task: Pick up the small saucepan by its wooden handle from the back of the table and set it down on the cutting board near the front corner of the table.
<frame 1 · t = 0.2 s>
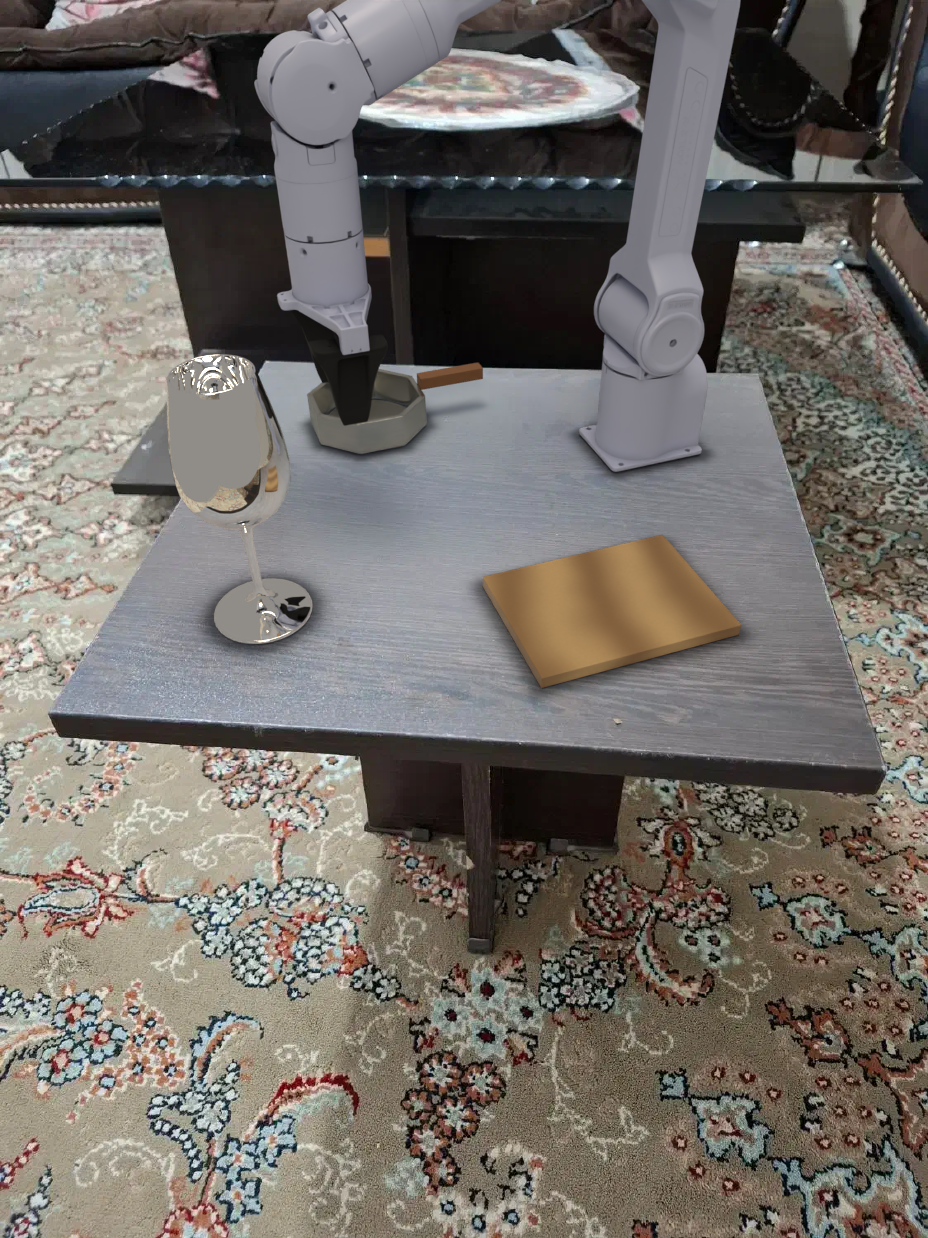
hand: (343, 399, 74), 10 cm above the table, tool pointing down, fingers open, 7 cm apart
cutting board: (606, 609, 69), on the table
wineglass: (264, 613, 70), on the table
saucepan: (368, 425, 91), on the table
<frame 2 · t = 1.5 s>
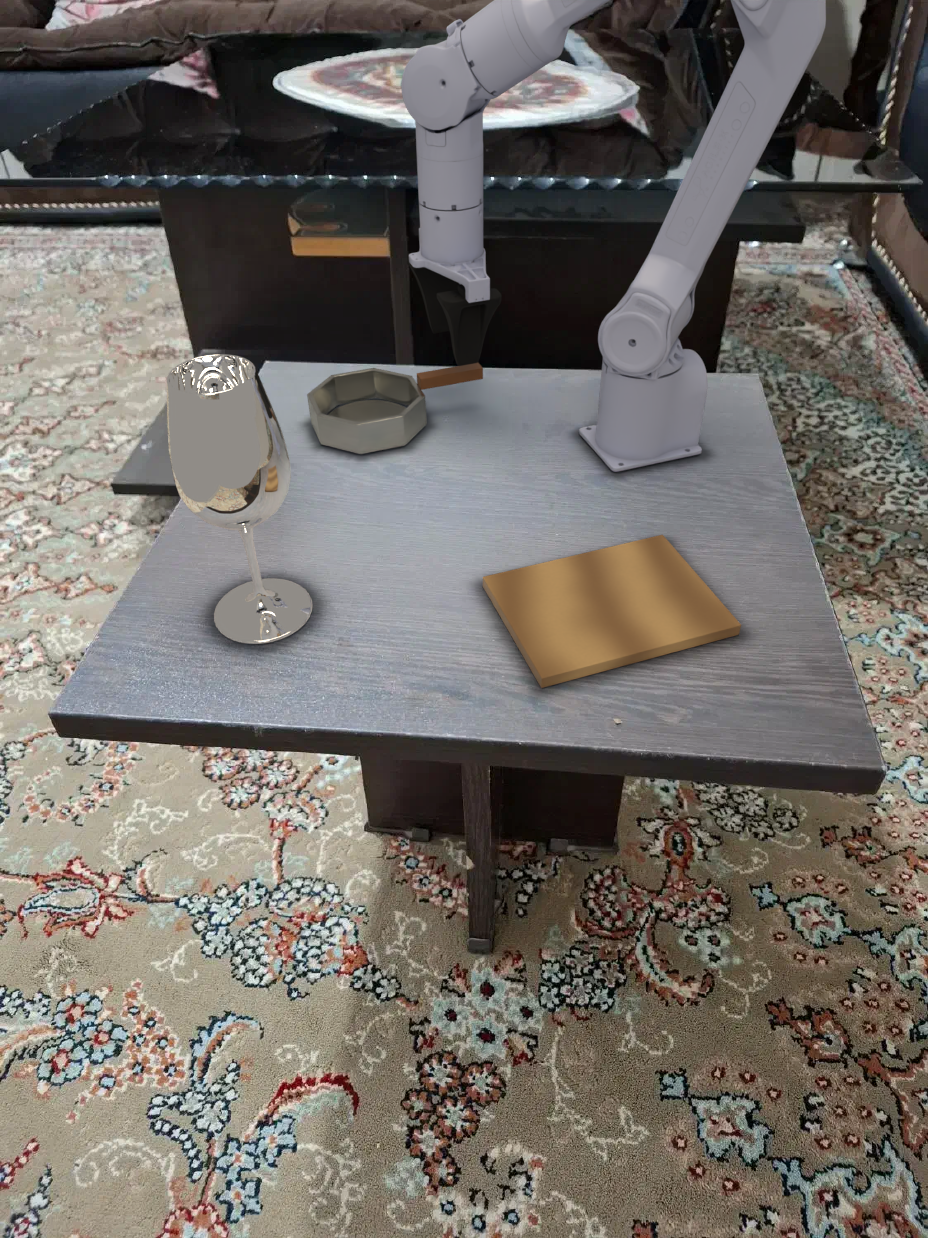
hand: (454, 346, 88), 7 cm above the table, tool pointing down, fingers open, 7 cm apart
nothing on the table moved.
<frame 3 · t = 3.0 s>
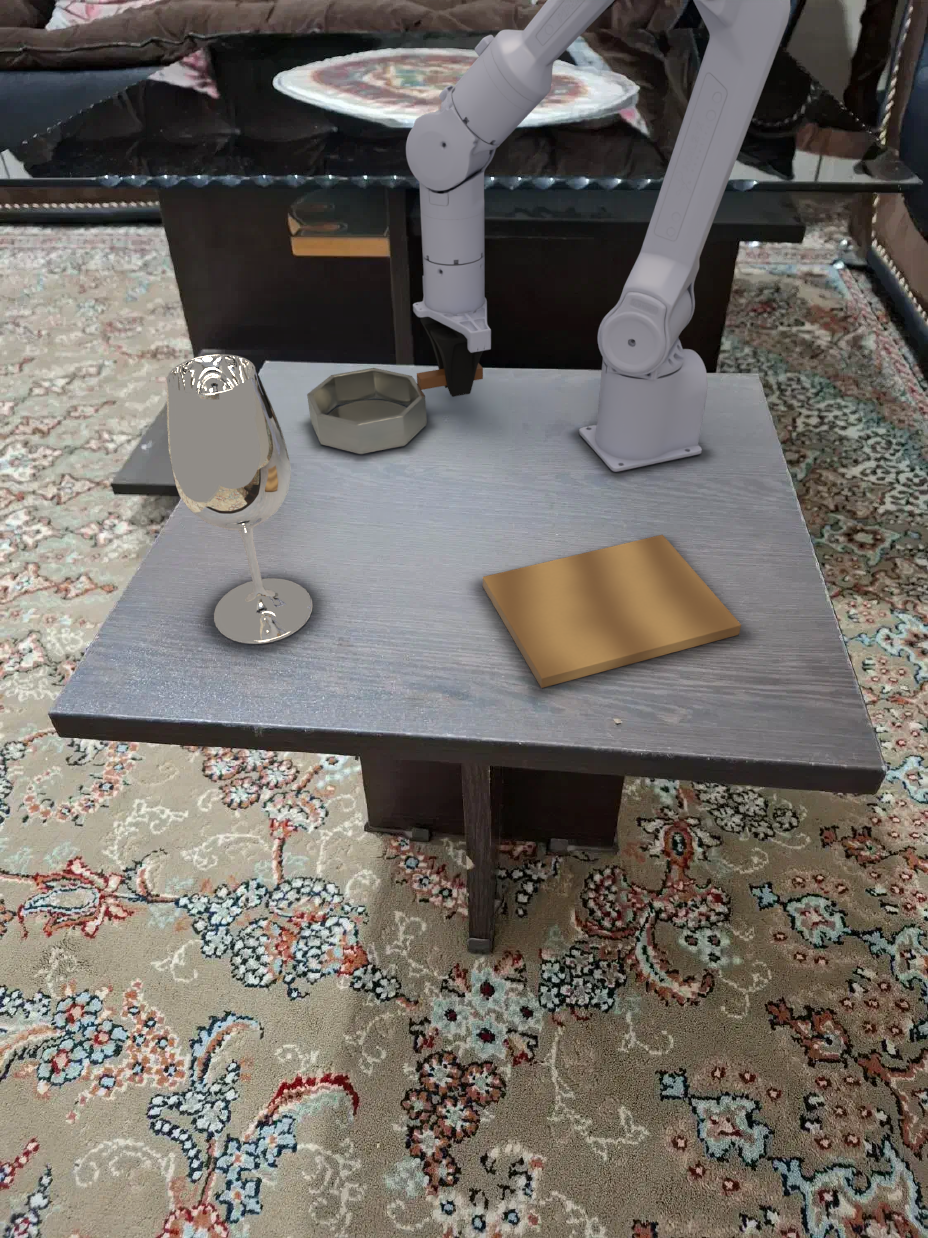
hand: (456, 389, 92), 2 cm above the table, tool pointing down, fingers closed on saucepan
saucepan: (368, 425, 91), on the table, touching gripper
everything else where it was.
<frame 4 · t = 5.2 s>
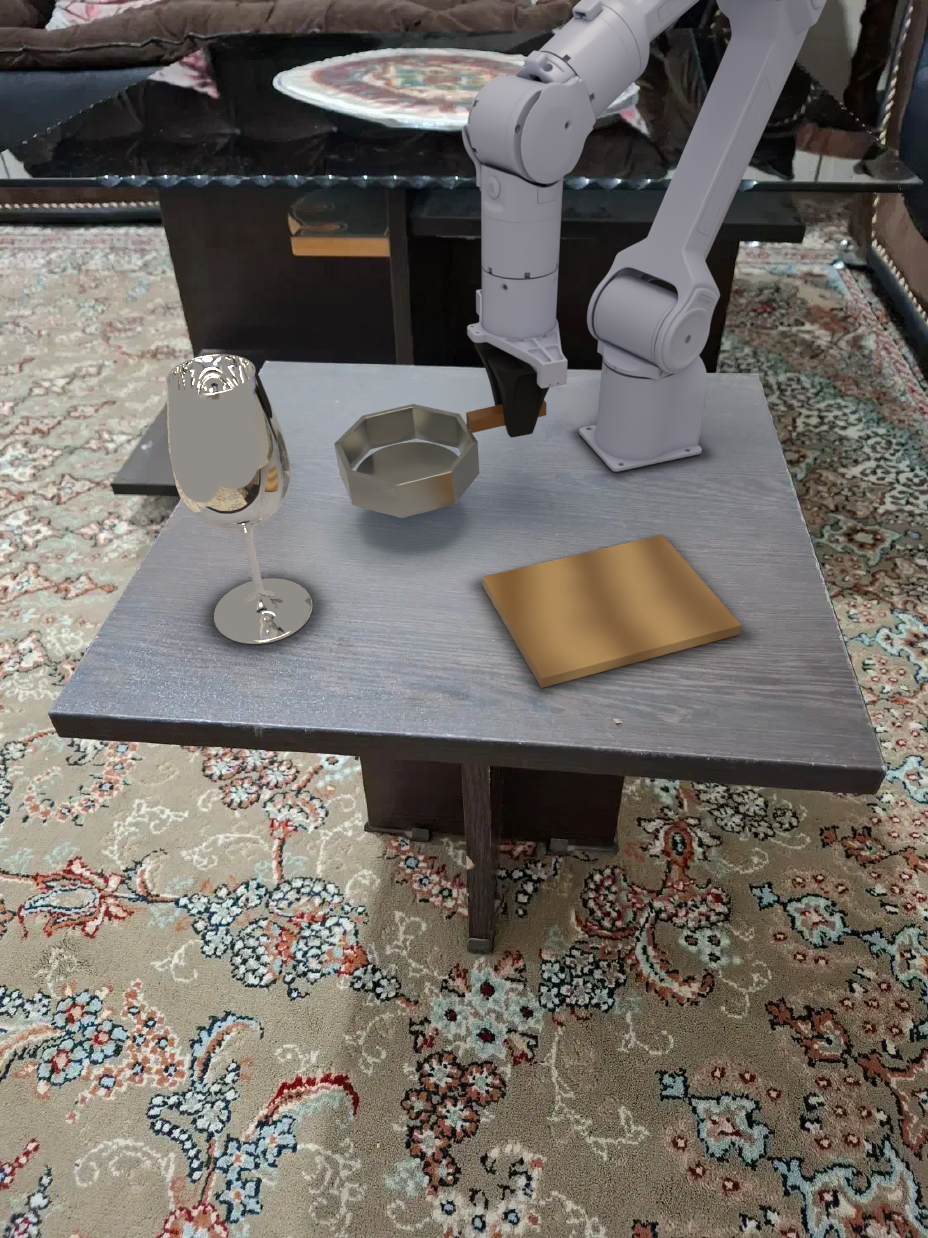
hand: (516, 427, 75), 7 cm above the table, tool pointing down, fingers closed on saucepan
saucepan: (409, 476, 75), point 5 cm above the table, touching gripper
everything else where it was.
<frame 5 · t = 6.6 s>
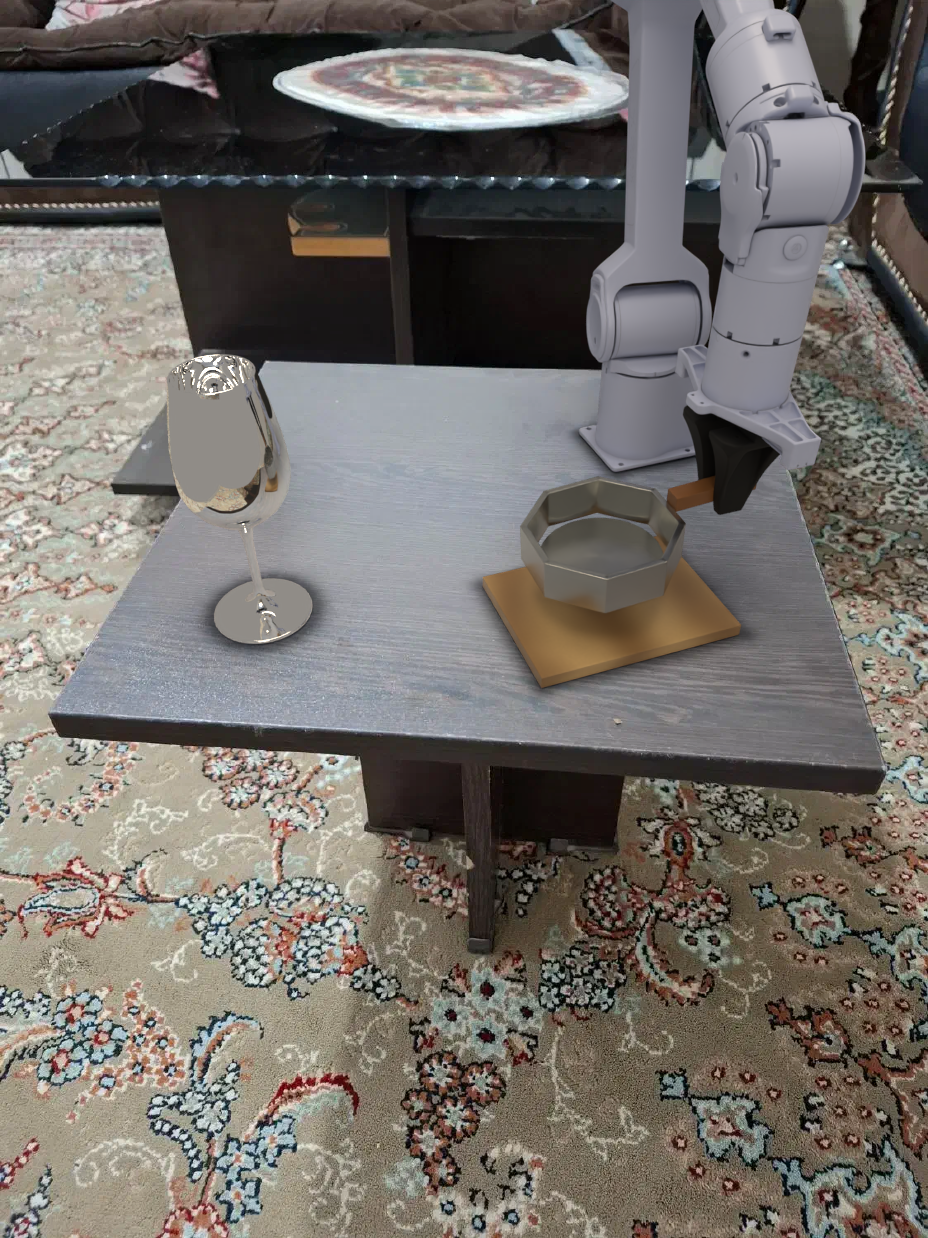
hand: (720, 502, 67), 7 cm above the table, tool pointing down, fingers closed on saucepan
saucepan: (600, 560, 66), point 4 cm above the table, touching gripper
everything else where it was.
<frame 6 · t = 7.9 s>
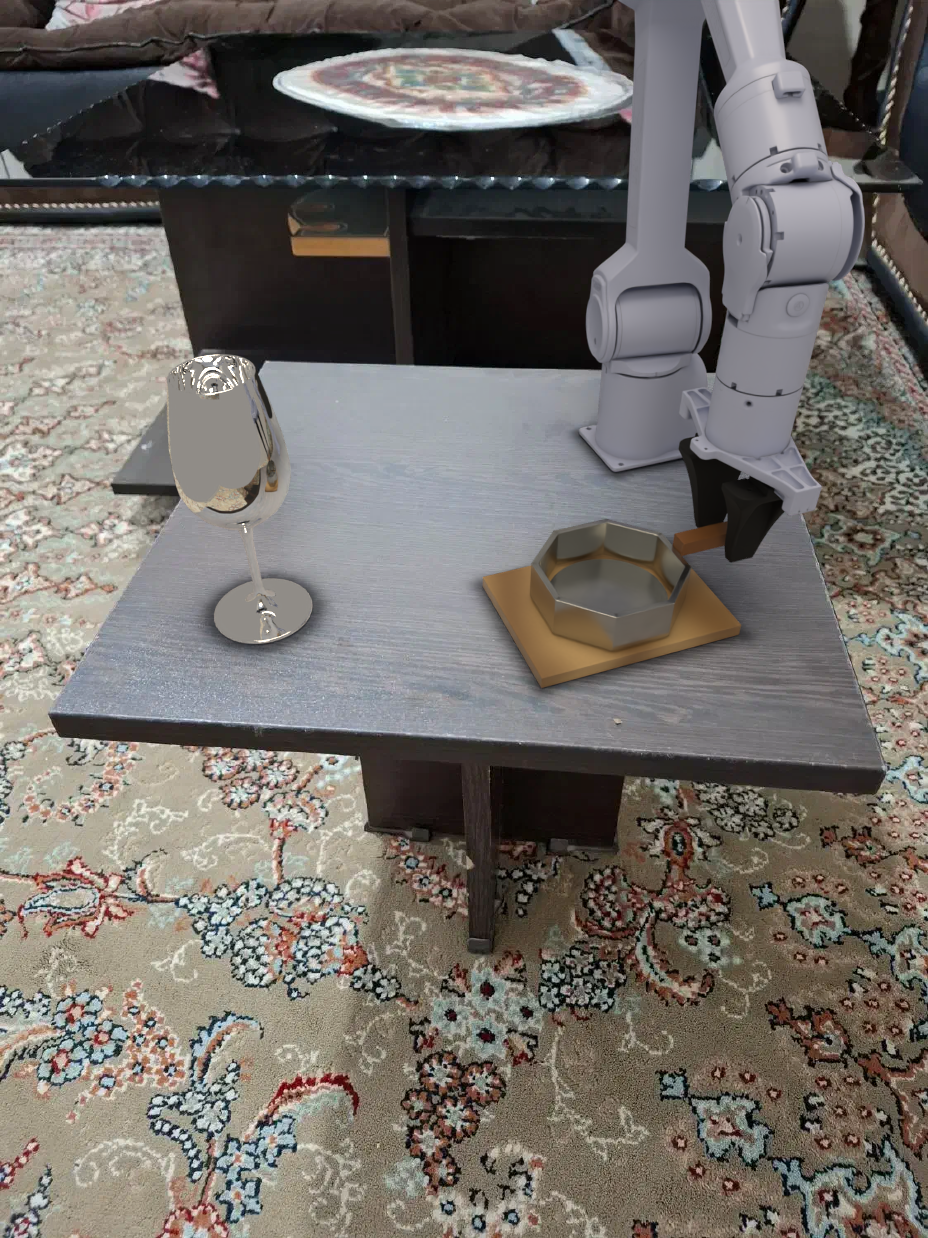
hand: (723, 540, 69), 4 cm above the table, tool pointing down, fingers open, 4 cm apart
saucepan: (606, 599, 68), point 1 cm above the table, touching cutting board
everything else where it was.
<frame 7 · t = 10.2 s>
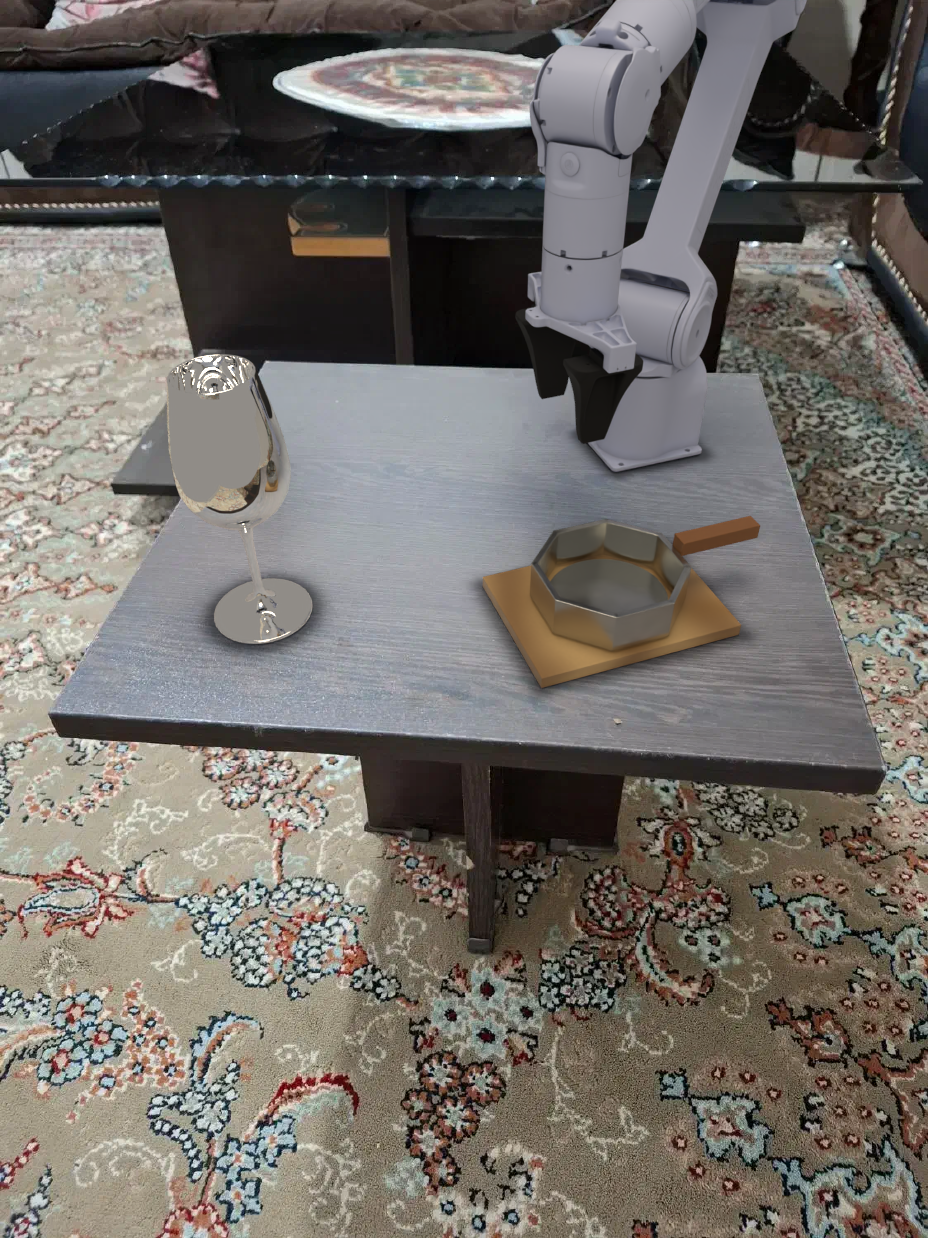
hand: (570, 416, 73), 9 cm above the table, tool pointing down, fingers open, 7 cm apart
nothing on the table moved.
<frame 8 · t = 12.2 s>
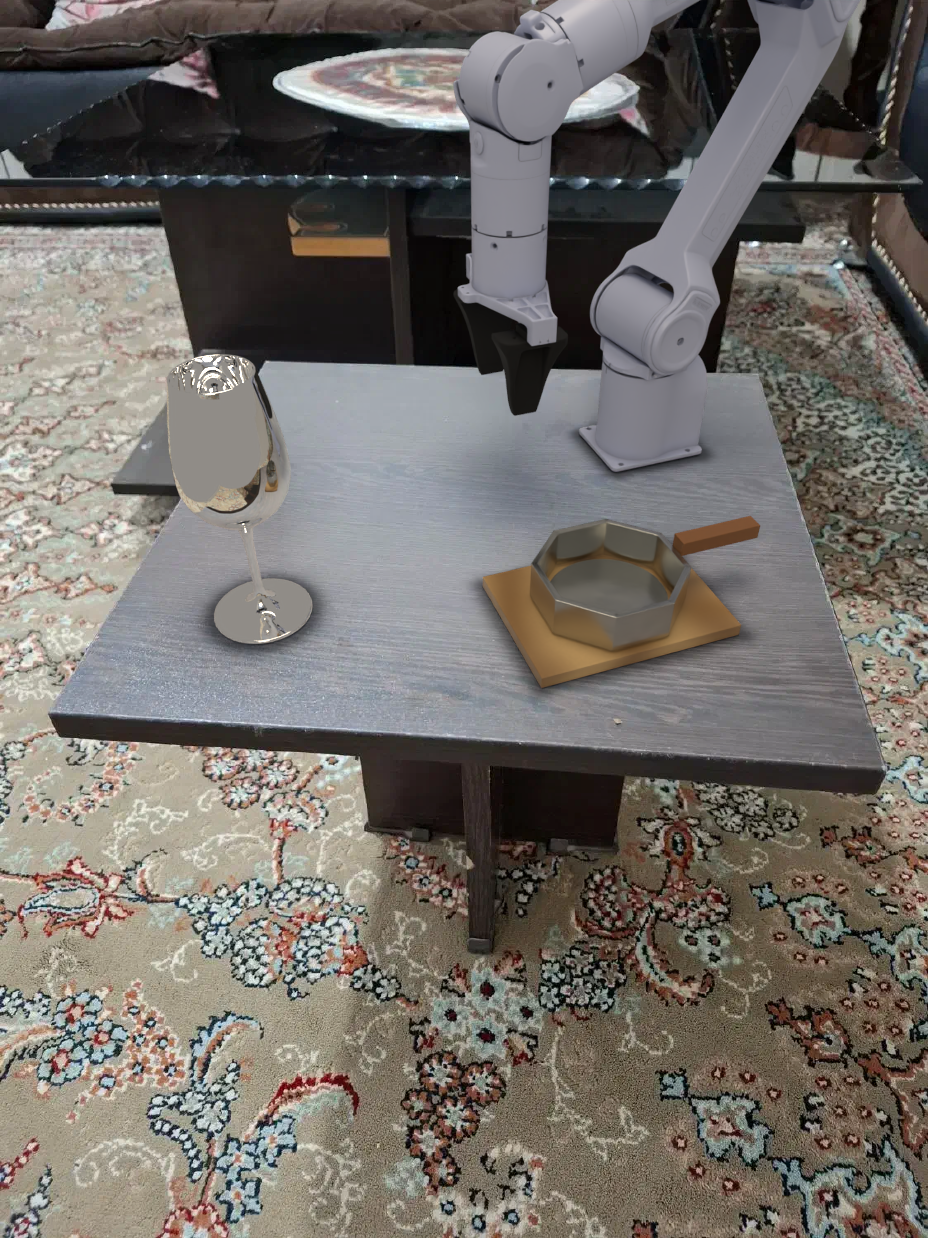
hand: (506, 391, 76), 9 cm above the table, tool pointing down, fingers open, 7 cm apart
nothing on the table moved.
at the end: saucepan 0.0 cm off-centre on the cutting board, point 1.0 cm above the cutting board's base; saucepan tilted 0°; the gripper is holding nothing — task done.
